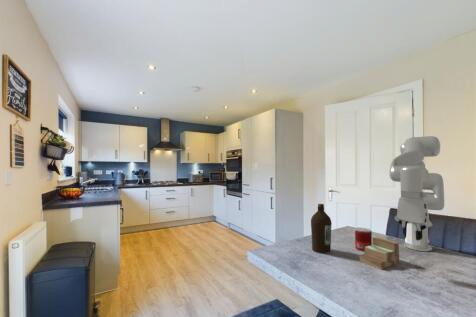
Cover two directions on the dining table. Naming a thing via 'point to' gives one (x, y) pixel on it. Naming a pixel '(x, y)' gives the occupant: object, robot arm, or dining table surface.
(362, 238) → the canned food
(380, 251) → the stand
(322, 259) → the dining table surface
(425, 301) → the dining table surface
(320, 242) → the olive oil
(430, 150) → the robot arm
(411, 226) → the pepper shaker
